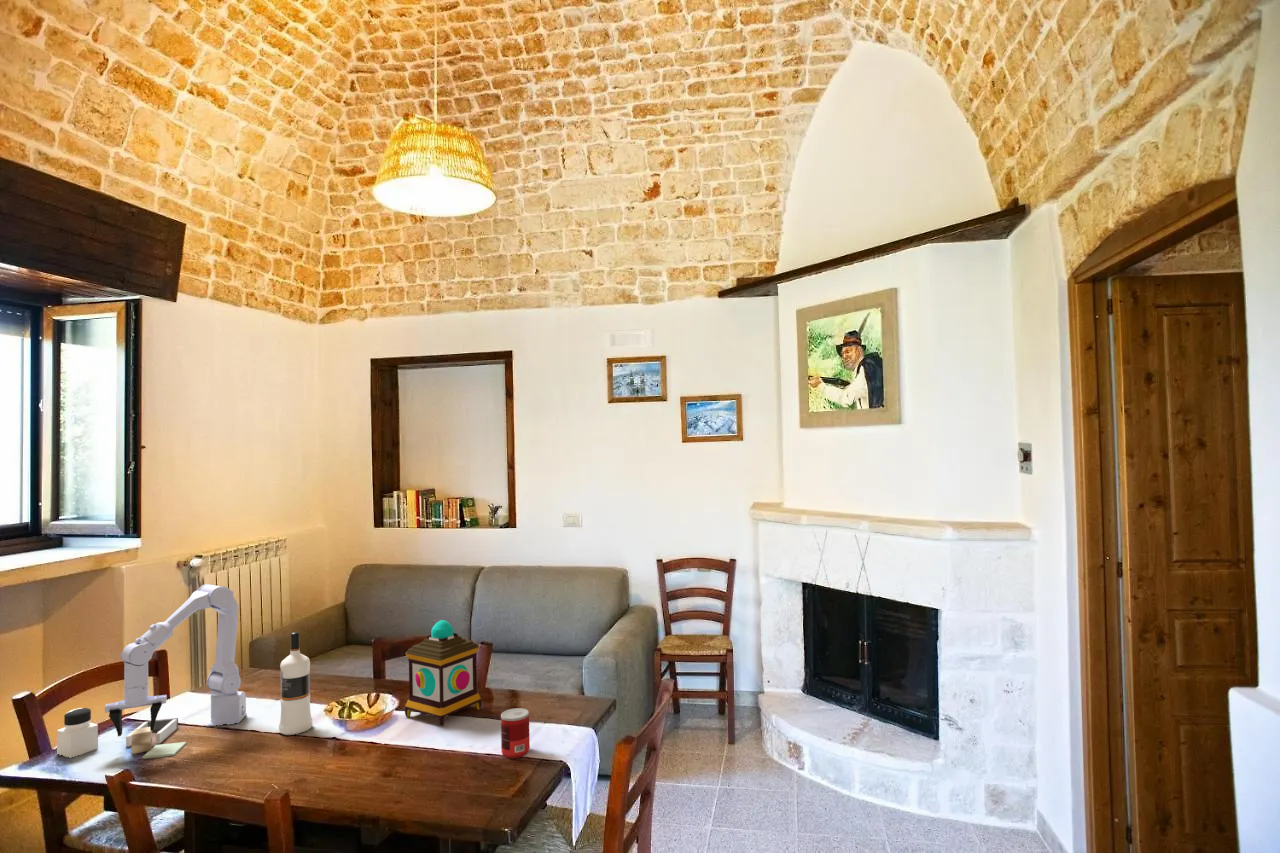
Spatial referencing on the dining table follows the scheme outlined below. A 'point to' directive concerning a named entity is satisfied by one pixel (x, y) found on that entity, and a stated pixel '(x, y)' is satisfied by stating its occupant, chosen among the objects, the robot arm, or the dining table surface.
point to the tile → (164, 750)
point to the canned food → (515, 733)
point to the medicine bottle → (77, 734)
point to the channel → (157, 729)
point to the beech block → (141, 740)
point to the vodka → (295, 691)
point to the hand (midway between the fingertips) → (136, 732)
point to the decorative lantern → (442, 674)
